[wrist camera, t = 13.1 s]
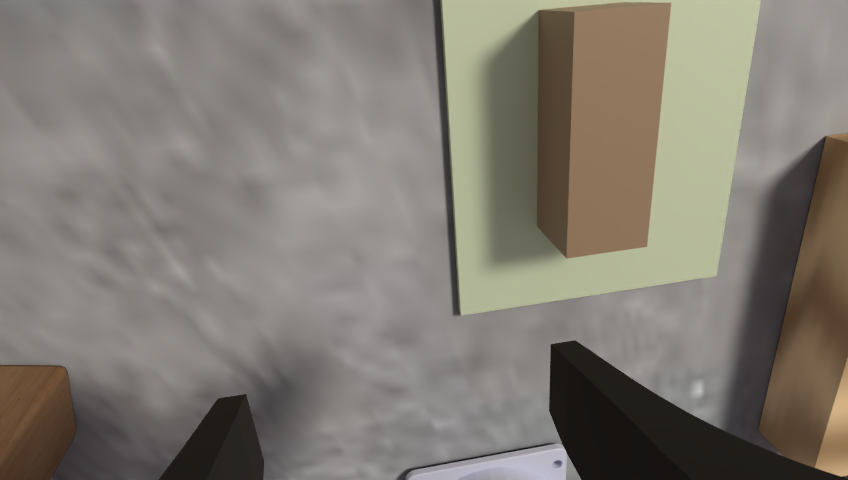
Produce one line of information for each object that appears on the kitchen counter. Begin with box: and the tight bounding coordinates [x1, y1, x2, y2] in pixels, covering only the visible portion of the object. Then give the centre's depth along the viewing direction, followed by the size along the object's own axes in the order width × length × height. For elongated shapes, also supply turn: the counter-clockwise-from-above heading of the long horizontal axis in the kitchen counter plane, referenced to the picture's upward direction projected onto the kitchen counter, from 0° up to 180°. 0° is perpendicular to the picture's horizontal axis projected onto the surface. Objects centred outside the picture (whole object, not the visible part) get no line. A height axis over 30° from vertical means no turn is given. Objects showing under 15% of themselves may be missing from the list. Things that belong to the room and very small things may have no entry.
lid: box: [440, 0, 761, 316], centre depth 20 cm, size 15×12×4 cm
